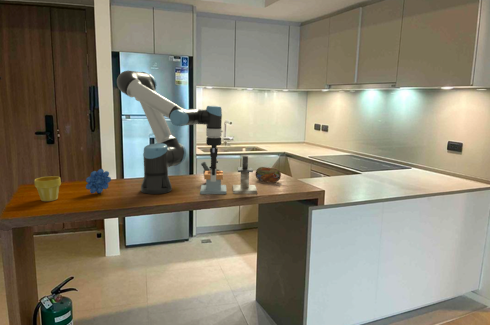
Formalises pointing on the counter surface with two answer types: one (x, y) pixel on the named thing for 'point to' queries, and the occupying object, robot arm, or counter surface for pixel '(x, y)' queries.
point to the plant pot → (48, 187)
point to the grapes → (98, 181)
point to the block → (213, 187)
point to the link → (218, 175)
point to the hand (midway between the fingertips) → (213, 178)
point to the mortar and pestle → (206, 167)
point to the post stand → (244, 179)
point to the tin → (268, 174)
